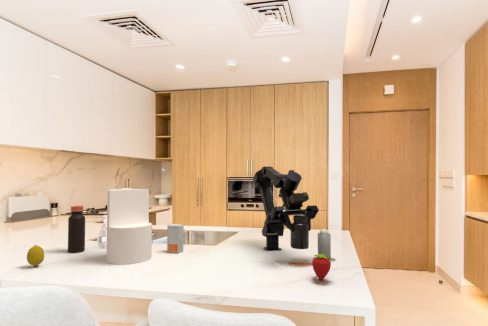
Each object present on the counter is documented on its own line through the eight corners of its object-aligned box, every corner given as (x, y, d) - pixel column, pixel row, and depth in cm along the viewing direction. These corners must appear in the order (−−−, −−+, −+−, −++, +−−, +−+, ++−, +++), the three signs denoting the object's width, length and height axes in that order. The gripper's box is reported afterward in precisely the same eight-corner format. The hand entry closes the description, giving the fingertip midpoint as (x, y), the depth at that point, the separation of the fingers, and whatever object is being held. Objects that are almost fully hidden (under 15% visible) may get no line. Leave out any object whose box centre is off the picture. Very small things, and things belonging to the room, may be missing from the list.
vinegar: (87, 249, 153) (88, 205, 154) (79, 253, 146) (79, 207, 147) (73, 249, 154) (74, 205, 154) (64, 253, 147) (65, 207, 147)
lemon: (25, 269, 121) (26, 247, 121) (27, 265, 126) (27, 244, 126) (43, 267, 124) (44, 245, 124) (44, 264, 129) (45, 243, 129)
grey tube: (315, 258, 135) (315, 228, 136) (326, 257, 137) (326, 227, 137) (321, 261, 130) (321, 230, 131) (333, 260, 132) (332, 229, 132)
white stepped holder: (98, 259, 136) (99, 189, 137) (137, 252, 149) (138, 188, 150) (119, 267, 124) (120, 191, 125) (159, 258, 137) (160, 189, 138)
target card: (278, 261, 133) (278, 259, 133) (327, 257, 140) (327, 255, 140) (292, 269, 121) (292, 267, 121) (345, 264, 128) (345, 263, 128)
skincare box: (166, 252, 148) (166, 225, 148) (172, 250, 152) (172, 223, 152) (178, 253, 146) (178, 225, 146) (183, 251, 150) (183, 224, 150)
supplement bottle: (311, 249, 125) (312, 216, 125) (295, 250, 123) (295, 217, 124) (303, 245, 132) (303, 214, 132) (287, 246, 130) (287, 214, 130)
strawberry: (330, 277, 112) (329, 247, 112) (331, 285, 104) (331, 252, 104) (311, 276, 113) (311, 246, 113) (312, 284, 105) (312, 251, 106)
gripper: (273, 185, 129) (284, 218, 118) (316, 185, 135) (331, 216, 124) (265, 204, 136) (276, 236, 126) (307, 203, 142) (320, 234, 131)
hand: (301, 230), depth 126 cm, fingers closed on supplement bottle, 7 cm apart
